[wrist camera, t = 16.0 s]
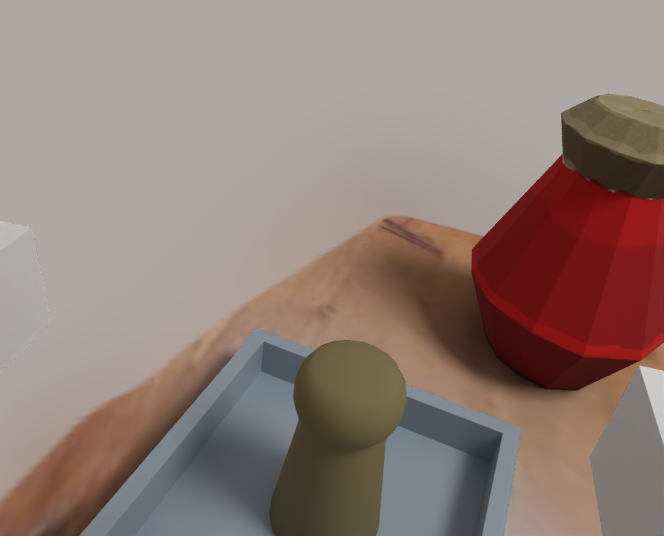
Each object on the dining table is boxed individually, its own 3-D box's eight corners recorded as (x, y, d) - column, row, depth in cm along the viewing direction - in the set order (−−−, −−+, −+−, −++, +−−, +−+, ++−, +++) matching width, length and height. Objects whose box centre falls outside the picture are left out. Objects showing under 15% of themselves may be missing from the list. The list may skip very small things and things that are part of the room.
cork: (246, 503, 32) (259, 352, 26) (328, 450, 36) (356, 306, 30) (319, 592, 29) (354, 441, 22) (401, 522, 32) (450, 377, 26)
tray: (254, 365, 42) (257, 328, 40) (504, 465, 38) (521, 428, 36) (70, 598, 28) (61, 556, 26) (440, 803, 23) (463, 771, 21)
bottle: (419, 301, 51) (481, 69, 40) (541, 283, 56) (626, 73, 45) (531, 441, 40) (662, 167, 29) (672, 403, 45) (830, 158, 34)
